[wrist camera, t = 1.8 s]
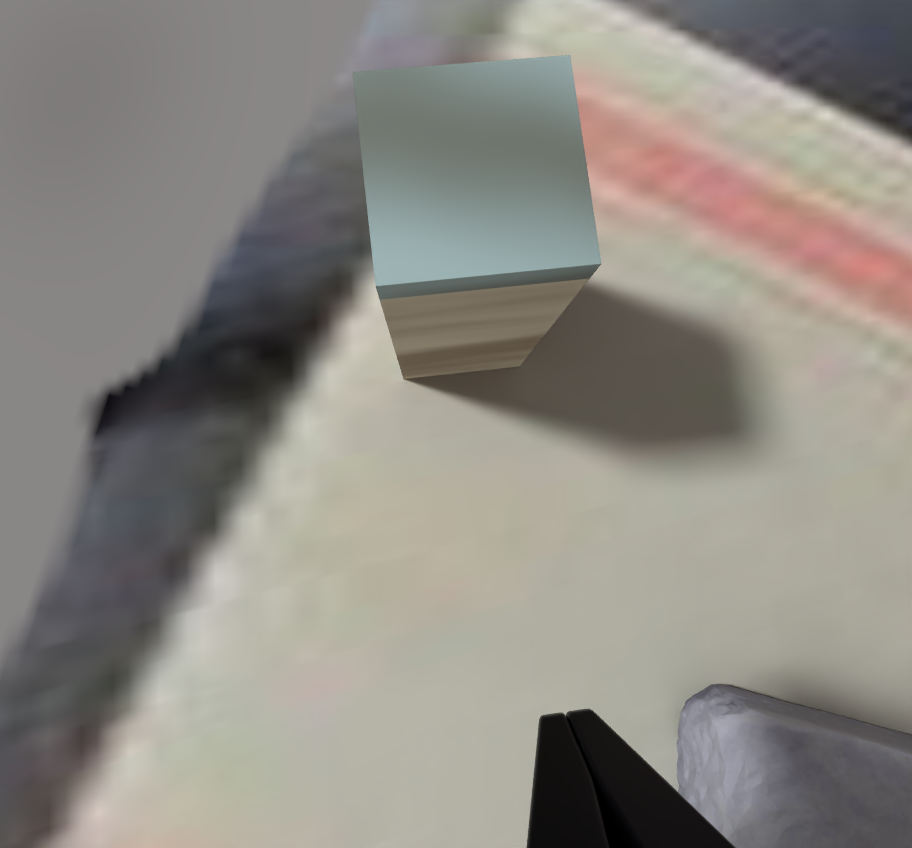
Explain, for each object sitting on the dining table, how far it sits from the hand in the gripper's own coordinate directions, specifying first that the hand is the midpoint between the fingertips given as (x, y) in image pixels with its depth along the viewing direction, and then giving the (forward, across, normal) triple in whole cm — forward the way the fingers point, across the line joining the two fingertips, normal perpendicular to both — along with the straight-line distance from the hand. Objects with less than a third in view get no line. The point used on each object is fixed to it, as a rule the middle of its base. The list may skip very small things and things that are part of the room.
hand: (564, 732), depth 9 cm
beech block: (+14, 0, -6) cm, 15 cm away
